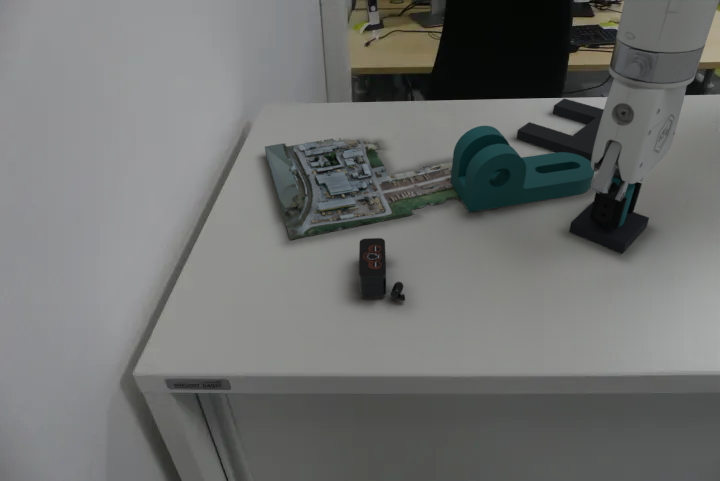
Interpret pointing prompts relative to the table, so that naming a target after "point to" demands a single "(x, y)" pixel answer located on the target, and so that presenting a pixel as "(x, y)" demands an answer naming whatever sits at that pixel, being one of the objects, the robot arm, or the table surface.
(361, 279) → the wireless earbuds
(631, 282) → the table surface
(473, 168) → the bracket
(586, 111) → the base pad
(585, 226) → the teal peg with base
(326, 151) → the model
